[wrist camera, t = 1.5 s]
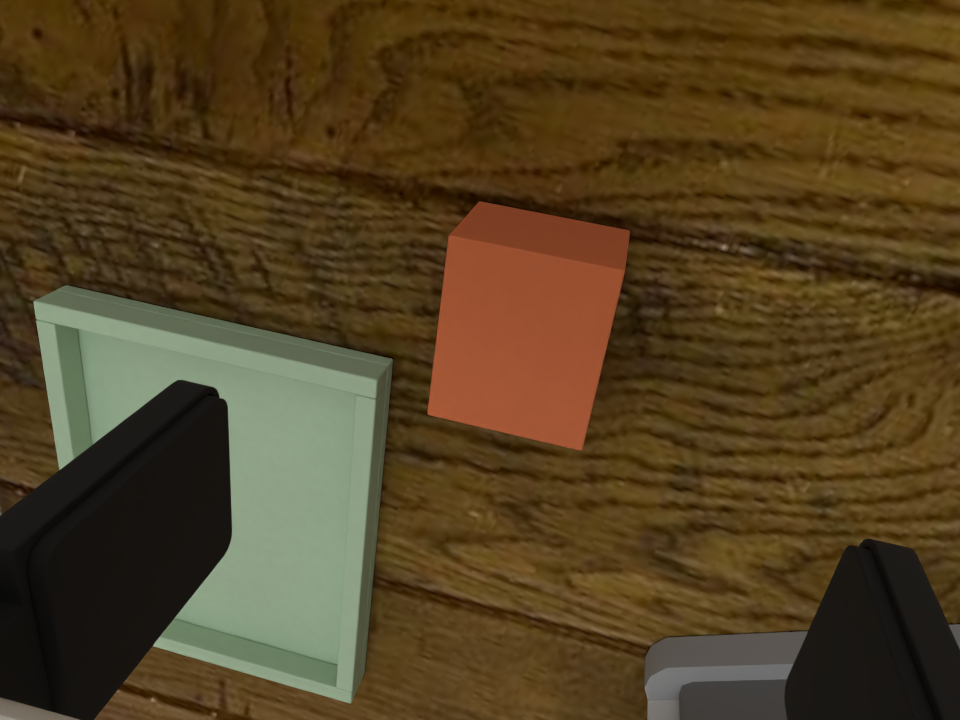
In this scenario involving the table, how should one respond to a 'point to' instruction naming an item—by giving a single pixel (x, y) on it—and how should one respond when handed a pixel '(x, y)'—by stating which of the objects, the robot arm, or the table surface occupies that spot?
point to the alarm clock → (723, 675)
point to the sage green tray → (247, 473)
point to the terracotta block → (525, 322)
